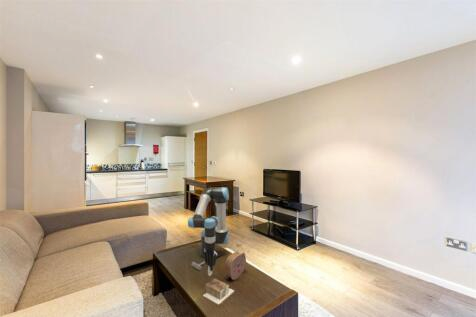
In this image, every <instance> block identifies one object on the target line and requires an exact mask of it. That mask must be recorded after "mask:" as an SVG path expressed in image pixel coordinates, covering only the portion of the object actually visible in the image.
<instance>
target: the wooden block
mask: <svg viewBox="0 0 476 317" xmlns="http://www.w3.org/2000/svg"><path fill="white" fill-rule="evenodd" d="M229 286H230V285H229V284H228V283H225V282H224V281H221V280H219V279H217V278H215V277H214V278H213V279H211V280H210V281H208V282H207V283H205V293H209V294H211V295H212V296H214V297H216V298H218V299H221V298H222V297H224V296H225V295H226V294H227V293H228V292H229Z"/></svg>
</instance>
